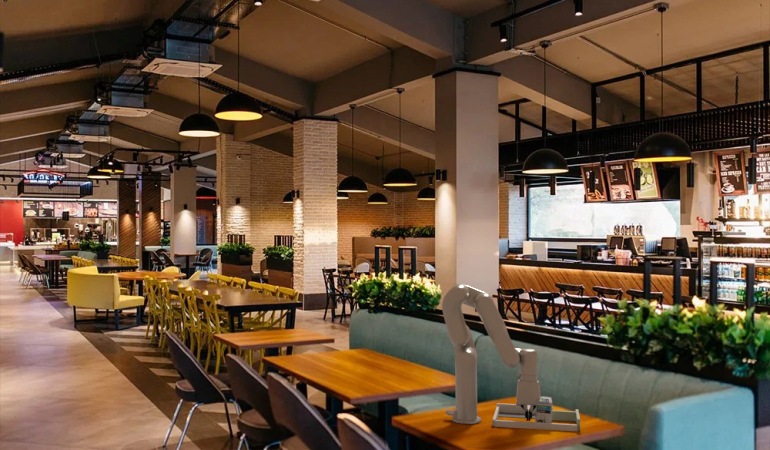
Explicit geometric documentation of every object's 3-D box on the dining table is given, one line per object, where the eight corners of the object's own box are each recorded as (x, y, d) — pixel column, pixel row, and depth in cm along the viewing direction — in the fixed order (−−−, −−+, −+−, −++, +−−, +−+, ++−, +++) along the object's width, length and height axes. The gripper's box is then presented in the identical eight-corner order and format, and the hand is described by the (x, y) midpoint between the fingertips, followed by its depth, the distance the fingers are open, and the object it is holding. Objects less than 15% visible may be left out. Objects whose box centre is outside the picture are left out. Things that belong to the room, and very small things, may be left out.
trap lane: (492, 426, 292) (492, 414, 292) (497, 411, 316) (497, 401, 316) (580, 431, 283) (580, 419, 283) (577, 416, 308) (577, 405, 308)
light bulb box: (551, 428, 289) (553, 402, 289) (535, 426, 290) (536, 400, 290) (550, 421, 299) (551, 396, 300) (534, 419, 301) (536, 395, 301)
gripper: (510, 378, 295) (510, 421, 295) (546, 380, 292) (546, 423, 291) (511, 375, 303) (511, 416, 302) (546, 376, 299) (546, 419, 299)
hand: (528, 420), depth 297 cm, fingers closed
